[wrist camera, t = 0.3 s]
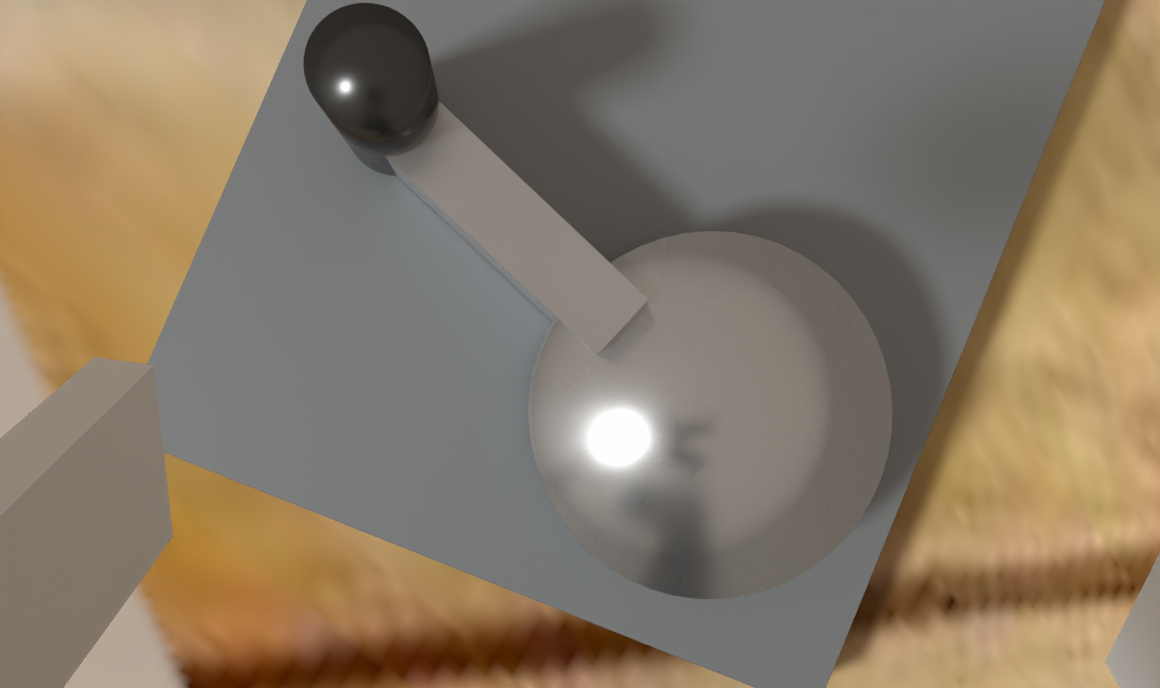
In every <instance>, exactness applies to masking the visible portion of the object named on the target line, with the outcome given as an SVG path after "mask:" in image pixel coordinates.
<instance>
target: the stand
mask: <svg viewBox="0 0 1160 688" xmlns="http://www.w3.org/2000/svg"><path fill="white" fill-rule="evenodd" d="M1104 2H1105V0H307V2H306V4H305V6H304V8H303V11H302V13H301V15H300V17H299V20H298V22H297V24H296V27H295V29H294V31H293V33H292V36H291V38H290V40H289V43H288V45H287V47H286V49H285V52H284V54H283V56H282V59H281V61H280V63H279V65H278V68H277V70H276V72H275V74H274V77H273V79H272V81H271V84H270V86H269V88H268V90H267V93H266V95H265V97H264V100H263V102H262V104H261V106H260V109H259V111H258V113H257V115H256V118H255V120H254V122H253V125H252V127H251V129H250V131H249V134H248V136H247V138H246V141H245V143H244V145H243V147H242V150H241V152H240V154H239V156H238V159H237V161H236V163H235V166H234V168H233V170H232V172H231V175H230V177H229V179H228V182H227V184H226V186H225V188H224V191H223V193H222V195H221V197H220V200H219V202H218V204H217V207H216V209H215V211H214V213H213V216H212V218H211V220H210V223H209V225H208V227H207V229H206V232H205V234H204V236H203V238H202V241H201V243H200V245H199V248H198V250H197V252H196V254H195V257H194V259H193V261H192V264H191V266H190V268H189V270H188V273H187V275H186V277H185V280H184V282H183V284H182V286H181V289H180V291H179V293H178V295H177V298H176V300H175V302H174V305H173V307H172V309H171V311H170V314H169V316H168V318H167V321H166V323H165V325H164V327H163V330H162V332H161V334H160V336H159V339H158V341H157V343H156V346H155V348H154V350H153V352H152V355H151V357H150V359H149V362H148V364H150V365H154V371H155V379H156V388H157V397H158V406H159V415H160V424H161V433H162V442H163V451H164V453H167V454H169V455H172V456H174V457H177V458H179V459H182V460H185V461H187V462H190V463H192V464H195V465H197V466H200V467H202V468H205V469H207V470H210V471H212V472H215V473H217V474H220V475H222V476H225V477H227V478H230V479H232V480H235V481H237V482H240V483H242V484H245V485H247V486H250V487H252V488H255V489H257V490H260V491H262V492H265V493H267V494H270V495H272V496H275V497H277V498H280V499H282V500H285V501H287V502H290V503H293V504H295V505H298V506H300V507H303V508H305V509H308V510H310V511H313V512H315V513H318V514H320V515H323V516H325V517H328V518H330V519H333V520H335V521H338V522H340V523H343V524H345V525H348V526H350V527H353V528H355V529H358V530H360V531H363V532H365V533H368V534H370V535H373V536H375V537H378V538H380V539H383V540H385V541H388V542H390V543H393V544H396V545H398V546H401V547H403V548H406V549H408V550H411V551H413V552H416V553H418V554H421V555H423V556H426V557H428V558H431V559H433V560H436V561H438V562H441V563H443V564H446V565H448V566H451V567H453V568H456V569H458V570H461V571H463V572H466V573H468V574H471V575H473V576H476V577H478V578H481V579H483V580H486V581H488V582H491V583H493V584H496V585H499V586H501V587H504V588H506V589H509V590H511V591H514V592H516V593H519V594H521V595H524V596H526V597H529V598H531V599H534V600H536V601H539V602H541V603H544V604H546V605H549V606H551V607H554V608H556V609H559V610H561V611H564V612H566V613H569V614H571V615H574V616H576V617H579V618H581V619H584V620H586V621H589V622H591V623H594V624H596V625H599V626H602V627H604V628H607V629H609V630H612V631H614V632H617V633H619V634H622V635H624V636H627V637H629V638H632V639H634V640H637V641H639V642H642V643H644V644H647V645H649V646H652V647H654V648H657V649H659V650H662V651H664V652H667V653H669V654H672V655H674V656H677V657H679V658H682V659H684V660H687V661H689V662H692V663H694V664H697V665H699V666H702V667H705V668H707V669H710V670H712V671H715V672H717V673H720V674H722V675H725V676H727V677H730V678H732V679H735V680H737V681H740V682H742V683H745V684H747V685H750V686H752V687H755V688H826V686H827V684H828V681H829V679H830V676H831V674H832V671H833V669H834V666H835V664H836V661H837V659H838V657H839V654H840V652H841V649H842V647H843V644H844V642H845V639H846V637H847V634H848V632H849V630H850V627H851V625H852V622H853V620H854V617H855V615H856V612H857V610H858V607H859V605H860V602H861V600H862V598H863V595H864V593H865V590H866V588H867V585H868V583H869V580H870V578H871V575H872V573H873V570H874V568H875V566H876V563H877V561H878V558H879V556H880V553H881V551H882V548H883V546H884V543H885V541H886V538H887V536H888V534H889V531H890V529H891V526H892V524H893V521H894V519H895V516H896V514H897V511H898V509H899V506H900V504H901V502H902V499H903V497H904V494H905V492H906V489H907V487H908V484H909V482H910V479H911V477H912V474H913V472H914V470H915V467H916V465H917V462H918V460H919V457H920V455H921V452H922V450H923V447H924V445H925V442H926V440H927V438H928V435H929V433H930V430H931V428H932V425H933V423H934V420H935V418H936V415H937V413H938V410H939V408H940V406H941V403H942V401H943V398H944V396H945V393H946V391H947V388H948V386H949V383H950V381H951V378H952V376H953V374H954V371H955V369H956V366H957V364H958V361H959V359H960V356H961V354H962V351H963V349H964V346H965V344H966V342H967V339H968V337H969V334H970V332H971V329H972V327H973V324H974V322H975V319H976V317H977V314H978V312H979V310H980V307H981V305H982V302H983V300H984V297H985V295H986V292H987V290H988V287H989V285H990V282H991V280H992V278H993V275H994V273H995V270H996V268H997V265H998V263H999V260H1000V258H1001V255H1002V253H1003V251H1004V248H1005V246H1006V243H1007V241H1008V238H1009V236H1010V233H1011V231H1012V228H1013V226H1014V223H1015V221H1016V219H1017V216H1018V214H1019V211H1020V209H1021V206H1022V204H1023V201H1024V199H1025V196H1026V194H1027V191H1028V189H1029V187H1030V184H1031V182H1032V179H1033V177H1034V174H1035V172H1036V169H1037V167H1038V164H1039V162H1040V159H1041V157H1042V155H1043V152H1044V150H1045V147H1046V145H1047V142H1048V140H1049V137H1050V135H1051V132H1052V130H1053V127H1054V125H1055V123H1056V120H1057V118H1058V115H1059V113H1060V110H1061V108H1062V105H1063V103H1064V100H1065V98H1066V95H1067V93H1068V91H1069V88H1070V86H1071V83H1072V81H1073V78H1074V76H1075V73H1076V71H1077V68H1078V66H1079V63H1080V61H1081V59H1082V56H1083V54H1084V51H1085V49H1086V46H1087V44H1088V41H1089V39H1090V36H1091V34H1092V31H1093V29H1094V27H1095V24H1096V22H1097V19H1098V17H1099V14H1100V12H1101V9H1102V7H1103V4H1104ZM356 3H375V4H380V5H384V6H387V7H390V8H392V9H394V10H396V11H398V12H399V13H401V14H402V15H404V16H405V17H406V18H408V19H409V20H410V21H411V22H412V23H413V24H414V25H415V26H416V28H417V29H418V30H419V32H420V33H421V35H422V37H423V39H424V40H425V43H426V45H427V48H428V52H429V56H430V60H431V65H432V69H433V74H434V78H435V83H436V87H437V91H438V96H439V100H440V102H441V103H442V104H443V105H444V106H445V107H446V108H447V109H448V110H449V111H450V112H451V113H452V114H453V115H454V116H455V117H456V118H457V119H459V120H460V121H461V122H462V123H463V124H464V125H465V126H466V127H467V128H468V129H469V130H470V131H471V132H472V133H473V134H474V135H475V136H476V137H478V138H479V139H480V140H481V141H482V142H483V143H484V144H485V145H486V146H487V147H488V148H489V149H490V150H491V151H492V152H493V153H494V154H496V155H497V156H498V157H499V158H500V159H501V160H502V161H503V162H504V163H505V164H506V165H507V166H508V167H509V168H510V169H511V170H512V171H513V172H515V173H516V174H517V175H518V176H519V177H520V178H521V179H522V180H523V181H524V182H525V183H526V184H527V185H528V186H529V187H530V188H531V189H533V190H534V191H535V192H536V193H537V194H538V195H539V196H540V197H541V198H542V199H543V200H544V201H545V202H546V203H547V204H548V205H549V206H550V207H552V208H553V209H554V210H555V211H556V212H557V213H558V214H559V215H560V216H561V217H562V218H563V219H564V220H565V221H566V222H567V223H568V224H570V225H571V226H572V227H573V228H574V229H575V230H576V231H577V232H578V233H579V234H580V235H581V236H582V237H583V238H584V239H585V240H586V241H587V242H589V243H590V244H591V245H592V246H593V247H594V248H595V249H596V250H597V251H598V252H599V253H600V254H601V255H602V256H603V257H604V258H605V259H607V260H608V261H609V262H610V263H611V262H613V261H614V260H616V259H617V258H619V257H621V256H623V255H624V254H626V253H628V252H630V251H632V250H634V249H636V248H638V247H640V246H642V245H645V244H648V243H650V242H653V241H656V240H658V239H661V238H665V237H670V236H674V235H678V234H683V233H691V232H701V231H723V232H736V233H741V234H747V235H753V236H757V237H760V238H763V239H766V240H769V241H773V242H776V243H778V244H781V245H783V246H785V247H787V248H789V249H791V250H793V251H795V252H798V253H800V254H801V255H803V256H804V257H806V258H807V259H809V260H810V261H812V262H814V263H815V264H817V265H818V266H819V267H821V268H822V269H823V270H824V271H825V272H827V273H828V274H829V275H830V276H831V277H832V278H834V279H835V280H836V281H837V282H838V283H839V284H840V285H841V286H842V287H843V289H844V290H845V291H846V292H847V293H848V294H849V295H850V296H851V297H852V298H853V300H854V301H855V303H856V304H857V306H858V307H859V309H860V310H861V311H862V313H863V314H864V316H865V317H866V319H867V321H868V323H869V325H870V327H871V329H872V330H873V332H874V334H875V336H876V338H877V341H878V343H879V346H880V349H881V352H882V354H883V357H884V360H885V363H886V368H887V372H888V377H889V381H890V387H891V398H892V433H891V439H890V446H889V452H888V457H887V460H886V464H885V467H884V470H883V474H882V477H881V480H880V482H879V484H878V487H877V489H876V491H875V494H874V496H873V498H872V500H871V502H870V503H869V505H868V507H867V509H866V510H865V512H864V514H863V515H862V517H861V519H860V520H859V521H858V523H857V524H856V525H855V527H854V528H853V529H852V530H851V532H850V533H849V534H848V536H847V537H846V538H845V539H844V540H843V541H842V542H841V543H840V544H839V545H838V546H837V547H836V548H835V549H834V550H833V551H832V552H831V553H830V554H829V555H828V556H826V557H825V558H824V559H823V560H821V561H820V562H819V563H817V564H816V565H815V566H813V567H812V568H811V569H809V570H808V571H806V572H804V573H802V574H801V575H799V576H797V577H795V578H794V579H792V580H790V581H788V582H786V583H783V584H781V585H778V586H776V587H774V588H771V589H769V590H766V591H762V592H758V593H755V594H751V595H747V596H742V597H734V598H726V599H693V598H686V597H679V596H673V595H669V594H666V593H662V592H658V591H655V590H651V589H649V588H647V587H644V586H642V585H640V584H637V583H635V582H633V581H630V580H628V579H627V578H625V577H623V576H622V575H620V574H618V573H617V572H615V571H613V570H612V569H610V568H608V567H607V566H606V565H605V564H603V563H602V562H601V561H600V560H598V559H597V558H596V557H595V556H593V555H592V554H591V553H590V552H589V551H588V550H587V549H586V548H585V547H584V546H583V545H582V544H581V543H580V542H579V541H578V540H577V539H576V538H575V537H574V536H573V534H572V533H571V532H570V530H569V529H568V528H567V526H566V525H565V524H564V522H563V521H562V519H561V518H560V517H559V515H558V513H557V511H556V510H555V508H554V506H553V504H552V502H551V500H550V499H549V497H548V495H547V493H546V490H545V487H544V485H543V482H542V479H541V477H540V474H539V472H538V469H537V466H536V463H535V460H534V455H533V451H532V447H531V443H530V439H529V429H528V419H527V406H528V390H529V384H530V377H531V371H532V368H533V365H534V361H535V358H536V355H537V351H538V349H539V347H540V344H541V342H542V340H543V338H544V335H545V333H546V331H547V329H548V327H549V326H550V324H551V323H552V320H551V319H550V318H549V317H548V316H546V315H545V314H544V313H543V312H542V311H541V310H540V309H539V308H538V307H537V306H536V305H535V304H534V303H533V302H531V301H530V300H529V299H528V298H527V297H526V296H525V295H524V294H523V293H522V292H521V291H520V290H519V289H518V288H516V287H515V286H514V285H513V284H512V283H511V282H510V281H509V280H508V279H507V278H506V277H505V276H504V275H503V274H502V273H500V272H499V271H498V270H497V269H496V268H495V267H494V266H493V265H492V264H491V263H490V262H489V261H488V260H487V259H485V258H484V257H483V256H482V255H481V254H480V253H479V252H478V251H477V250H476V249H475V248H474V247H473V246H472V245H470V244H469V243H468V242H467V241H466V240H465V239H464V238H463V237H462V236H461V235H460V234H459V233H458V232H457V231H456V230H454V229H453V228H452V227H451V226H450V225H449V224H448V223H447V222H446V221H445V220H444V219H443V218H442V217H441V216H439V215H438V214H437V213H436V212H435V211H434V210H433V209H432V208H431V207H430V206H429V205H428V204H427V203H426V202H424V201H423V200H422V199H421V198H420V197H419V196H418V195H417V194H416V193H415V192H414V191H413V190H412V189H411V188H410V187H408V186H407V185H406V184H405V183H404V182H403V181H402V180H401V179H400V178H399V177H398V176H392V175H386V174H382V173H379V172H376V171H374V170H372V169H371V168H369V167H367V166H366V165H365V164H364V163H362V162H361V161H360V159H359V158H358V157H357V156H356V155H355V153H354V152H353V151H352V149H351V148H350V146H349V145H348V144H347V142H346V141H345V140H344V138H343V137H342V136H341V134H340V133H339V132H338V130H337V129H336V128H335V126H334V125H333V123H332V122H331V121H330V119H329V118H328V117H327V115H326V114H325V113H324V111H323V110H322V109H321V107H320V106H319V105H318V103H317V102H316V100H315V99H314V98H313V96H312V94H311V92H310V90H309V88H308V85H307V83H306V79H305V75H304V67H303V62H304V52H305V48H306V45H307V41H308V39H309V37H310V35H311V33H312V32H313V30H314V29H315V27H316V26H317V25H318V24H319V22H320V21H321V20H322V19H324V18H325V17H326V16H327V15H329V14H330V13H332V12H333V11H335V10H337V9H339V8H341V7H344V6H347V5H351V4H356Z"/></svg>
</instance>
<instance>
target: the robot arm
mask: <svg viewBox="0 0 1160 688" xmlns="http://www.w3.org/2000/svg"><path fill="white" fill-rule="evenodd" d="M172 537H173V531H172V522H171V513H170V504H169V495H168V486H167V477H166V469H165V460H164V451H163V442H162V433H161V424H160V415H159V406H158V397H157V388H156V379H155V371H154V365H150V364H142V363H134V362H127V361H119V360H112V359H104V358H97V357H94V358H93V359H92V360H91V361H90V362H88V363H87V364H86V365H85V366H84V367H83V368H81V369H80V370H79V371H78V372H77V373H76V374H75V375H73V376H72V377H71V378H70V379H69V380H68V381H66V382H65V383H64V384H63V385H62V386H61V387H59V388H58V389H57V390H56V391H55V392H54V393H53V394H51V395H50V396H49V397H48V398H47V399H46V400H44V401H43V402H42V403H41V404H40V405H39V406H37V407H36V408H35V409H34V410H33V411H32V412H31V413H29V414H28V415H27V416H26V417H25V418H24V419H22V420H21V421H20V422H19V423H18V424H17V425H15V426H14V427H13V428H12V429H11V430H10V431H9V432H7V433H6V434H5V435H4V436H3V437H2V438H0V688H63V687H64V686H65V685H66V683H67V682H68V680H69V679H70V678H71V676H72V675H73V674H74V672H75V671H76V670H77V668H78V667H79V665H80V664H81V663H82V661H83V660H84V658H85V657H86V656H87V654H88V653H89V651H90V650H91V649H92V647H93V646H94V645H95V643H96V642H97V641H98V639H99V638H100V636H101V635H102V634H103V632H104V631H105V629H106V628H107V627H108V625H109V624H110V623H111V621H112V620H113V619H114V617H115V616H116V614H117V613H118V612H119V610H120V609H121V607H122V606H123V605H124V603H125V602H126V601H127V599H128V598H129V596H130V595H131V594H132V592H133V591H134V590H135V588H136V587H137V585H138V584H139V583H140V581H141V580H142V579H143V577H144V576H145V574H146V573H147V572H148V570H149V569H150V568H151V566H152V565H153V563H154V562H155V561H156V559H157V558H158V556H159V555H160V554H161V552H162V551H163V550H164V548H165V547H166V545H167V544H168V543H169V541H170V540H171V539H172ZM1105 663H1106V664H1107V666H1108V668H1109V670H1110V671H1111V673H1112V675H1113V677H1114V678H1115V680H1116V682H1117V683H1118V685H1119V687H1120V688H1160V554H1159V556H1158V558H1157V560H1156V562H1155V564H1154V566H1153V568H1152V570H1151V572H1150V573H1149V575H1148V577H1147V579H1146V581H1145V583H1144V585H1143V587H1142V589H1141V591H1140V593H1139V595H1138V597H1137V599H1136V601H1135V603H1134V605H1133V607H1132V609H1131V611H1130V613H1129V615H1128V617H1127V619H1126V621H1125V623H1124V625H1123V627H1122V629H1121V631H1120V633H1119V635H1118V637H1117V639H1116V641H1115V643H1114V645H1113V647H1112V649H1111V651H1110V653H1109V655H1108V657H1107V659H1106V661H1105Z"/></svg>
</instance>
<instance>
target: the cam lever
mask: <svg viewBox="0 0 1160 688" xmlns="http://www.w3.org/2000/svg"><path fill="white" fill-rule="evenodd" d="M303 67H304V75H305V79H306V83H307V85H308V88H309V90H310V92H311V94H312V96H313V98H314V99H315V100H316V102H317V103H318V105H319V106H320V107H321V109H322V110H323V111H324V113H325V114H326V115H327V117H328V118H329V119H330V121H331V122H332V123H333V125H334V126H335V128H336V129H337V130H338V132H339V133H340V134H341V136H342V137H343V138H344V140H345V141H346V142H347V144H348V145H349V146H350V148H351V149H352V151H353V152H354V153H355V155H356V156H357V157H358V158H359V159H360V161H361V162H362V163H364V164H365V165H366V166H367V167H369V168H371V169H372V170H374V171H376V172H379V173H382V174H386V175H392V176H398V177H399V178H400V179H401V180H402V181H403V182H404V183H405V184H406V185H407V186H408V187H410V188H411V189H412V190H413V191H414V192H415V193H416V194H417V195H418V196H419V197H420V198H421V199H422V200H423V201H424V202H426V203H427V204H428V205H429V206H430V207H431V208H432V209H433V210H434V211H435V212H436V213H437V214H438V215H439V216H441V217H442V218H443V219H444V220H445V221H446V222H447V223H448V224H449V225H450V226H451V227H452V228H453V229H454V230H456V231H457V232H458V233H459V234H460V235H461V236H462V237H463V238H464V239H465V240H466V241H467V242H468V243H469V244H470V245H472V246H473V247H474V248H475V249H476V250H477V251H478V252H479V253H480V254H481V255H482V256H483V257H484V258H485V259H487V260H488V261H489V262H490V263H491V264H492V265H493V266H494V267H495V268H496V269H497V270H498V271H499V272H500V273H502V274H503V275H504V276H505V277H506V278H507V279H508V280H509V281H510V282H511V283H512V284H513V285H514V286H515V287H516V288H518V289H519V290H520V291H521V292H522V293H523V294H524V295H525V296H526V297H527V298H528V299H529V300H530V301H531V302H533V303H534V304H535V305H536V306H537V307H538V308H539V309H540V310H541V311H542V312H543V313H544V314H545V315H546V316H548V317H549V318H550V319H551V320H552V323H551V324H550V326H549V327H548V329H547V331H546V333H545V335H544V338H543V340H542V342H541V344H540V347H539V349H538V351H537V355H536V358H535V361H534V365H533V368H532V371H531V377H530V384H529V390H528V406H527V419H528V429H529V439H530V443H531V447H532V451H533V455H534V460H535V463H536V466H537V469H538V472H539V474H540V477H541V479H542V482H543V485H544V487H545V490H546V493H547V495H548V497H549V499H550V500H551V502H552V504H553V506H554V508H555V510H556V511H557V513H558V515H559V517H560V518H561V519H562V521H563V522H564V524H565V525H566V526H567V528H568V529H569V530H570V532H571V533H572V534H573V536H574V537H575V538H576V539H577V540H578V541H579V542H580V543H581V544H582V545H583V546H584V547H585V548H586V549H587V550H588V551H589V552H590V553H591V554H592V555H593V556H595V557H596V558H597V559H598V560H600V561H601V562H602V563H603V564H605V565H606V566H607V567H608V568H610V569H612V570H613V571H615V572H617V573H618V574H620V575H622V576H623V577H625V578H627V579H628V580H630V581H633V582H635V583H637V584H640V585H642V586H644V587H647V588H649V589H651V590H655V591H658V592H662V593H666V594H669V595H673V596H679V597H686V598H693V599H726V598H734V597H742V596H747V595H751V594H755V593H758V592H762V591H766V590H769V589H771V588H774V587H776V586H778V585H781V584H783V583H786V582H788V581H790V580H792V579H794V578H795V577H797V576H799V575H801V574H802V573H804V572H806V571H808V570H809V569H811V568H812V567H813V566H815V565H816V564H817V563H819V562H820V561H821V560H823V559H824V558H825V557H826V556H828V555H829V554H830V553H831V552H832V551H833V550H834V549H835V548H836V547H837V546H838V545H839V544H840V543H841V542H842V541H843V540H844V539H845V538H846V537H847V536H848V534H849V533H850V532H851V530H852V529H853V528H854V527H855V525H856V524H857V523H858V521H859V520H860V519H861V517H862V515H863V514H864V512H865V510H866V509H867V507H868V505H869V503H870V502H871V500H872V498H873V496H874V494H875V491H876V489H877V487H878V484H879V482H880V480H881V477H882V474H883V470H884V467H885V464H886V460H887V457H888V452H889V446H890V439H891V433H892V398H891V387H890V381H889V377H888V372H887V368H886V363H885V360H884V357H883V354H882V352H881V349H880V346H879V343H878V341H877V338H876V336H875V334H874V332H873V330H872V329H871V327H870V325H869V323H868V321H867V319H866V317H865V316H864V314H863V313H862V311H861V310H860V309H859V307H858V306H857V304H856V303H855V301H854V300H853V298H852V297H851V296H850V295H849V294H848V293H847V292H846V291H845V290H844V289H843V287H842V286H841V285H840V284H839V283H838V282H837V281H836V280H835V279H834V278H832V277H831V276H830V275H829V274H828V273H827V272H825V271H824V270H823V269H822V268H821V267H819V266H818V265H817V264H815V263H814V262H812V261H810V260H809V259H807V258H806V257H804V256H803V255H801V254H800V253H798V252H795V251H793V250H791V249H789V248H787V247H785V246H783V245H781V244H778V243H776V242H773V241H769V240H766V239H763V238H760V237H757V236H753V235H747V234H741V233H736V232H723V231H701V232H691V233H683V234H678V235H674V236H670V237H665V238H661V239H658V240H656V241H653V242H650V243H648V244H645V245H642V246H640V247H638V248H636V249H634V250H632V251H630V252H628V253H626V254H624V255H623V256H621V257H619V258H617V259H616V260H614V261H613V262H611V263H610V262H609V261H608V260H607V259H605V258H604V257H603V256H602V255H601V254H600V253H599V252H598V251H597V250H596V249H595V248H594V247H593V246H592V245H591V244H590V243H589V242H587V241H586V240H585V239H584V238H583V237H582V236H581V235H580V234H579V233H578V232H577V231H576V230H575V229H574V228H573V227H572V226H571V225H570V224H568V223H567V222H566V221H565V220H564V219H563V218H562V217H561V216H560V215H559V214H558V213H557V212H556V211H555V210H554V209H553V208H552V207H550V206H549V205H548V204H547V203H546V202H545V201H544V200H543V199H542V198H541V197H540V196H539V195H538V194H537V193H536V192H535V191H534V190H533V189H531V188H530V187H529V186H528V185H527V184H526V183H525V182H524V181H523V180H522V179H521V178H520V177H519V176H518V175H517V174H516V173H515V172H513V171H512V170H511V169H510V168H509V167H508V166H507V165H506V164H505V163H504V162H503V161H502V160H501V159H500V158H499V157H498V156H497V155H496V154H494V153H493V152H492V151H491V150H490V149H489V148H488V147H487V146H486V145H485V144H484V143H483V142H482V141H481V140H480V139H479V138H478V137H476V136H475V135H474V134H473V133H472V132H471V131H470V130H469V129H468V128H467V127H466V126H465V125H464V124H463V123H462V122H461V121H460V120H459V119H457V118H456V117H455V116H454V115H453V114H452V113H451V112H450V111H449V110H448V109H447V108H446V107H445V106H444V105H443V104H442V103H441V102H440V100H439V96H438V91H437V87H436V83H435V78H434V74H433V69H432V65H431V60H430V56H429V52H428V48H427V45H426V43H425V40H424V39H423V37H422V35H421V33H420V32H419V30H418V29H417V28H416V26H415V25H414V24H413V23H412V22H411V21H410V20H409V19H408V18H406V17H405V16H404V15H402V14H401V13H399V12H398V11H396V10H394V9H392V8H390V7H387V6H384V5H380V4H375V3H356V4H351V5H347V6H344V7H341V8H339V9H337V10H335V11H333V12H332V13H330V14H329V15H327V16H326V17H325V18H324V19H322V20H321V21H320V22H319V24H318V25H317V26H316V27H315V29H314V30H313V32H312V33H311V35H310V37H309V39H308V41H307V45H306V48H305V52H304V62H303Z"/></svg>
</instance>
